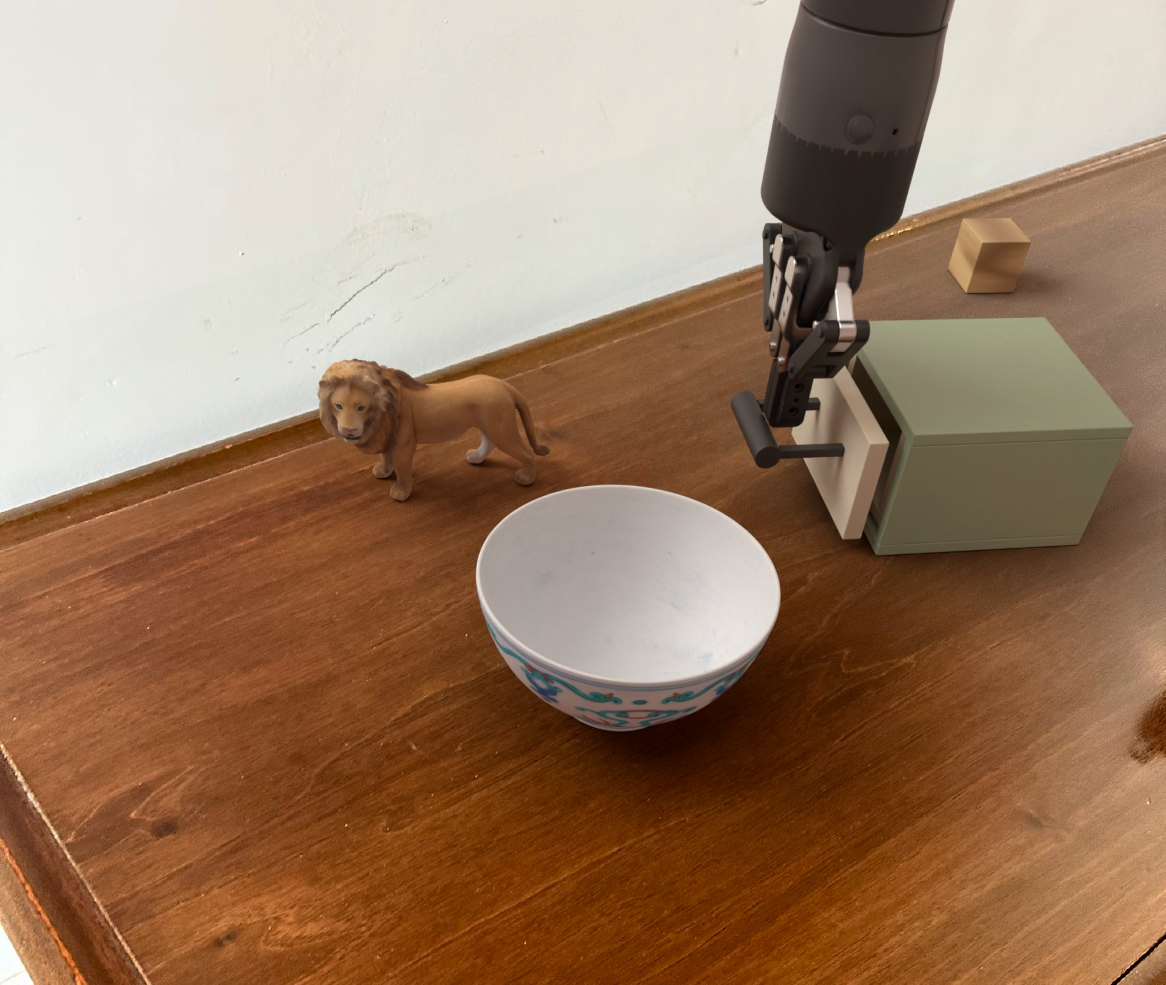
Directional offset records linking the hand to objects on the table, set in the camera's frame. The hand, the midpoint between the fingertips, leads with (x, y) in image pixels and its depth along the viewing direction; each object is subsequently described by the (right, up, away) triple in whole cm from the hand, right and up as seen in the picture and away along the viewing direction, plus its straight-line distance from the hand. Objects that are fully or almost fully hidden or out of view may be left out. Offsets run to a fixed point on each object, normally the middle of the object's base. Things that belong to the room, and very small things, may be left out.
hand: (781, 420), depth 72 cm
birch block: (+21, +19, +26) cm, 39 cm away
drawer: (+6, -3, +5) cm, 8 cm away
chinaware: (-10, -17, -8) cm, 21 cm away
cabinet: (+12, -3, +6) cm, 14 cm away
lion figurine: (-21, -3, +3) cm, 22 cm away
